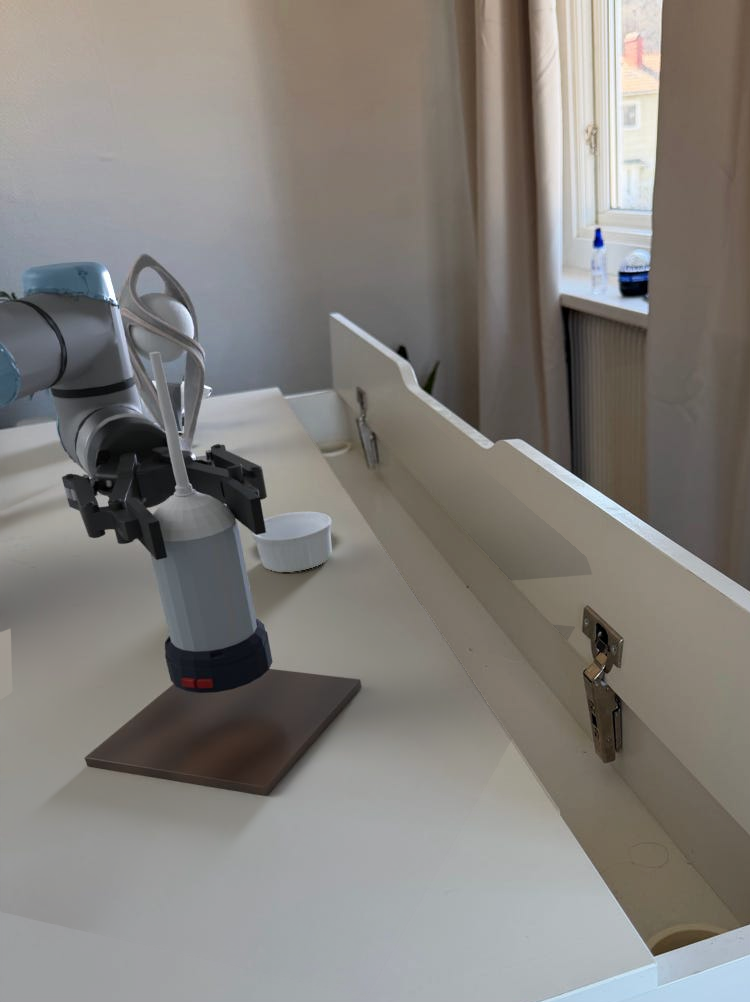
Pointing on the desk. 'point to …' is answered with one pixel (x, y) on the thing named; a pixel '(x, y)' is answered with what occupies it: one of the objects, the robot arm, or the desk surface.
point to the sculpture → (163, 340)
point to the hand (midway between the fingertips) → (208, 528)
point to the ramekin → (294, 541)
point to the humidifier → (204, 582)
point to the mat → (228, 731)
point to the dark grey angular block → (176, 402)
